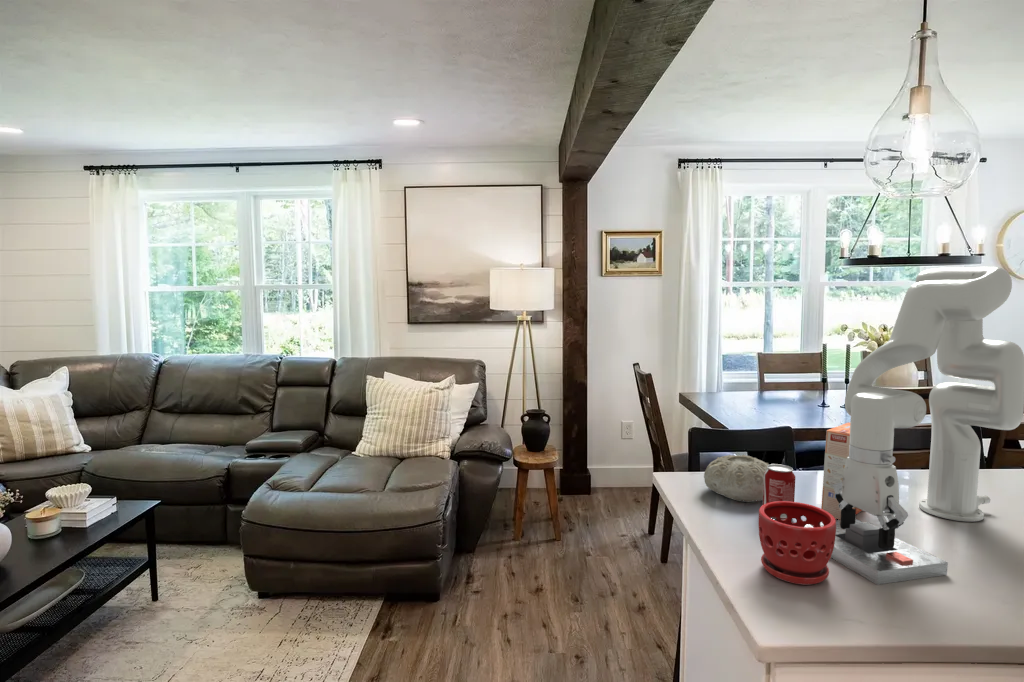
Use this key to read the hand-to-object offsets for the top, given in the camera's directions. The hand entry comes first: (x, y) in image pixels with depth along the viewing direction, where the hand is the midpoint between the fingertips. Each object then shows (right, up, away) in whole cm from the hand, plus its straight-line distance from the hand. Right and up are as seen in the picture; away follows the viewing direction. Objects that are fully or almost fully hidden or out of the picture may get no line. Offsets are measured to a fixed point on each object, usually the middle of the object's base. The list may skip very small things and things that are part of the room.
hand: (866, 537), depth 120 cm
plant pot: (-19, -4, -9) cm, 21 cm away
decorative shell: (-13, -1, +34) cm, 36 cm away
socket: (0, -3, 0) cm, 3 cm away
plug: (0, -3, 0) cm, 3 cm away
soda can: (-9, -2, +19) cm, 22 cm away
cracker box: (+8, -2, +23) cm, 24 cm away
